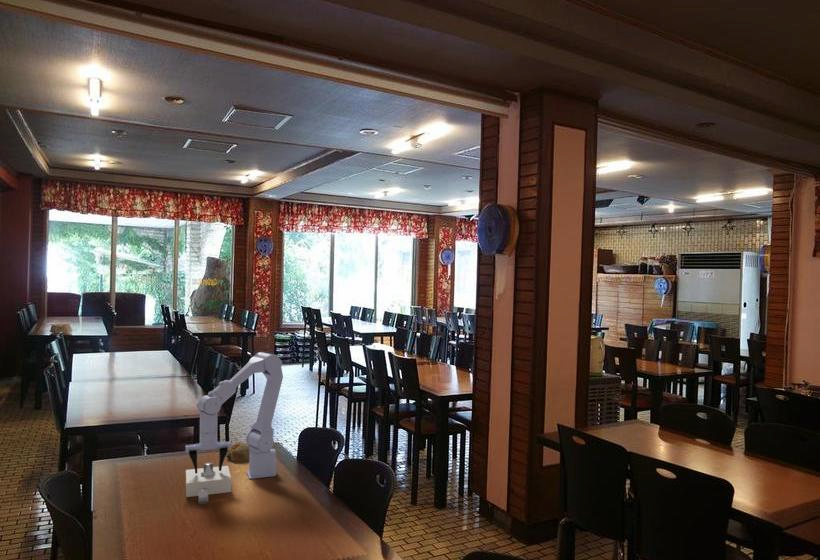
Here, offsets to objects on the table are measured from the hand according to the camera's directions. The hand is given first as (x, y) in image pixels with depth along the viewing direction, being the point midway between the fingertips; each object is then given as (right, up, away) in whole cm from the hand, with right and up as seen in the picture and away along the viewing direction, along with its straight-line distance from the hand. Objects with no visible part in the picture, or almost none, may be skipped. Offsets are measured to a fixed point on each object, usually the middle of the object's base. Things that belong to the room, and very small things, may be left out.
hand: (208, 471), depth 199 cm
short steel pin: (+3, -6, -13) cm, 14 cm away
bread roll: (+2, -6, +32) cm, 33 cm away
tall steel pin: (0, -6, 0) cm, 6 cm away
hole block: (0, -6, 0) cm, 6 cm away
